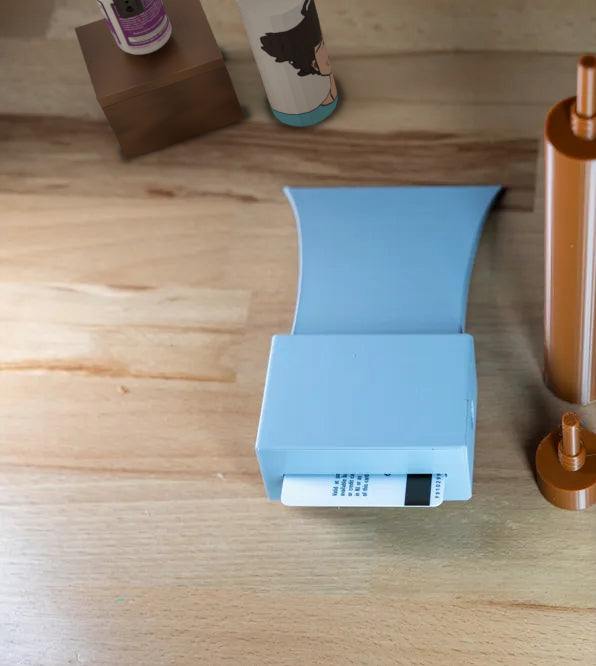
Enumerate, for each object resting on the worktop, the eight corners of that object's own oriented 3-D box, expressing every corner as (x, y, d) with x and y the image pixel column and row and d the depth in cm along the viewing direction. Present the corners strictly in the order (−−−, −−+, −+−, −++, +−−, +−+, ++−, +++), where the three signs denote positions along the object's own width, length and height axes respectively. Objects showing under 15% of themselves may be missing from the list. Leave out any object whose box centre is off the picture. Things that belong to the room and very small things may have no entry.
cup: (346, 117, 117) (317, 3, 104) (280, 137, 116) (243, 24, 103) (329, 70, 120) (299, -46, 107) (265, 89, 119) (227, -26, 106)
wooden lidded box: (128, 162, 115) (96, 99, 107) (106, 92, 120) (74, 27, 112) (246, 121, 117) (222, 57, 109) (218, 55, 122) (194, -12, 114)
